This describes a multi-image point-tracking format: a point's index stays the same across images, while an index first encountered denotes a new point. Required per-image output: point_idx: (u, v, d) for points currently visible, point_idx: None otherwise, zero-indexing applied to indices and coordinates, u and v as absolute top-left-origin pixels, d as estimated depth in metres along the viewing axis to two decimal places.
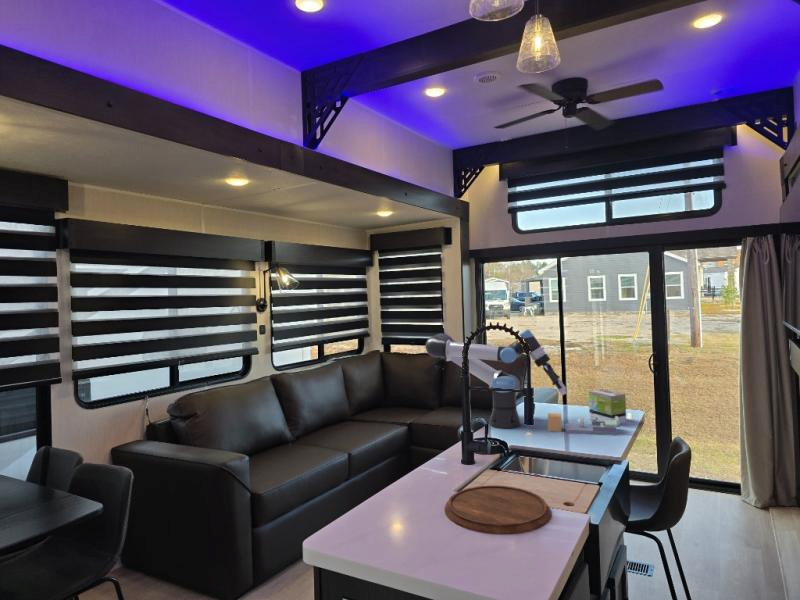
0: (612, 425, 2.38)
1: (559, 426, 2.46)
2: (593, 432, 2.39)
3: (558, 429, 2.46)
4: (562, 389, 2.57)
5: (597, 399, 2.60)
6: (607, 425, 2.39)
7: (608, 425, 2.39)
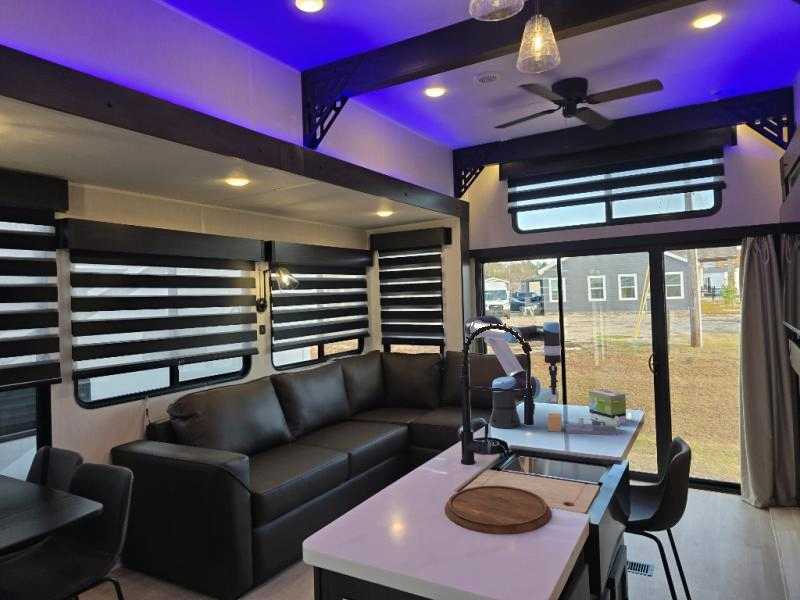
0: (612, 425, 2.38)
1: (559, 426, 2.46)
2: (593, 432, 2.39)
3: (558, 429, 2.46)
4: (555, 396, 2.42)
5: (597, 399, 2.60)
6: (607, 425, 2.39)
7: (608, 425, 2.39)
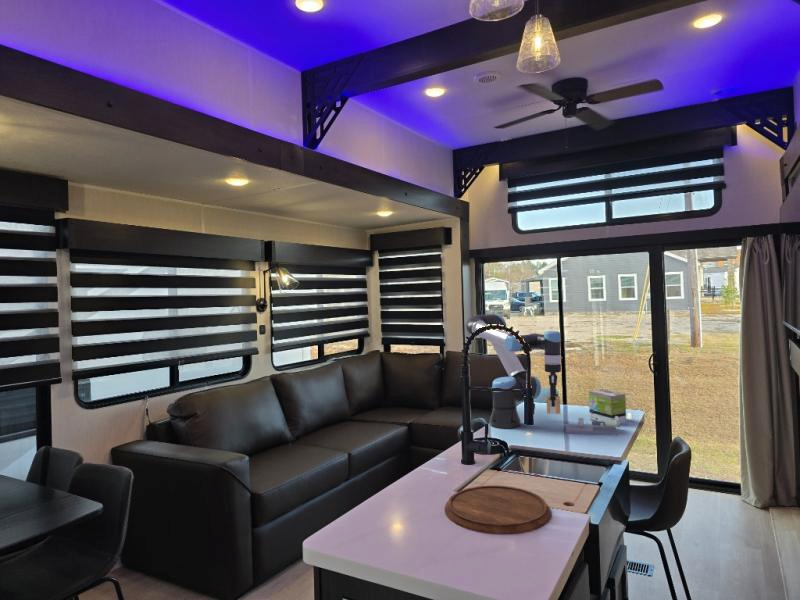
0: (612, 425, 2.38)
1: (558, 408, 2.46)
2: (593, 432, 2.39)
3: (557, 411, 2.46)
4: (554, 408, 2.46)
5: (597, 399, 2.60)
6: (607, 425, 2.39)
7: (608, 425, 2.39)
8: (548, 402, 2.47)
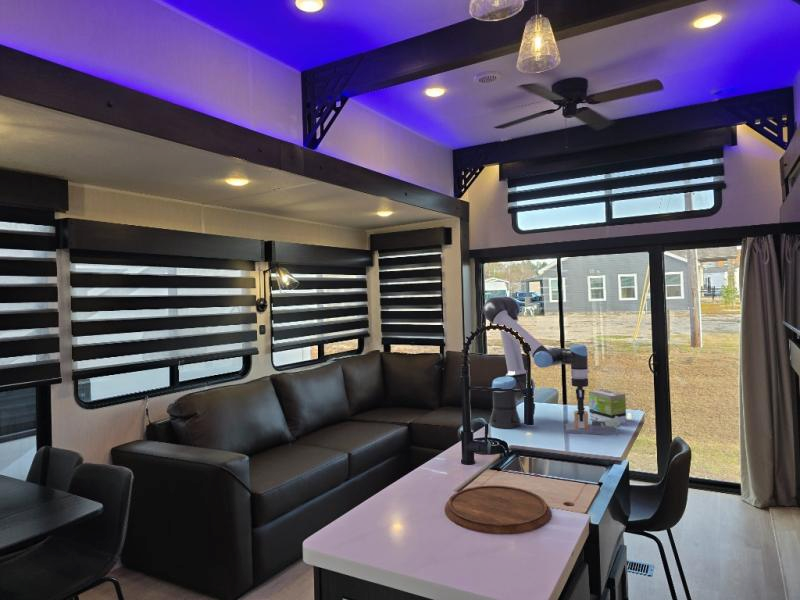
0: (612, 425, 2.38)
1: (586, 423, 2.43)
2: (593, 432, 2.39)
3: (585, 426, 2.43)
4: (582, 422, 2.42)
5: (597, 399, 2.60)
6: (607, 425, 2.39)
7: (608, 425, 2.39)
8: (576, 417, 2.44)
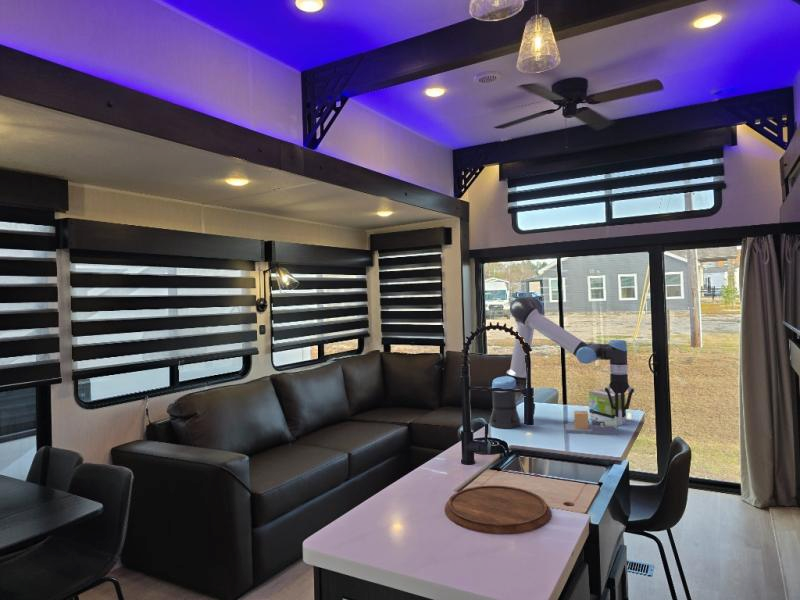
0: (612, 425, 2.38)
1: (586, 423, 2.43)
2: (593, 432, 2.39)
3: (585, 426, 2.43)
4: (618, 418, 2.41)
5: (597, 399, 2.60)
6: (607, 425, 2.39)
7: (608, 425, 2.39)
8: (576, 417, 2.44)
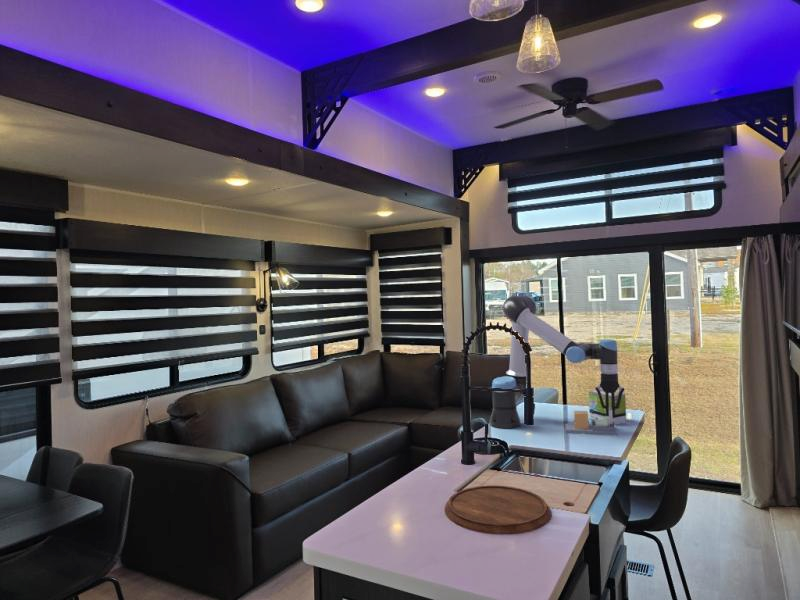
0: (602, 425, 2.40)
1: (586, 423, 2.43)
2: (593, 432, 2.39)
3: (585, 426, 2.43)
4: None
5: (597, 399, 2.60)
6: (597, 425, 2.40)
7: (598, 425, 2.40)
8: (576, 417, 2.44)
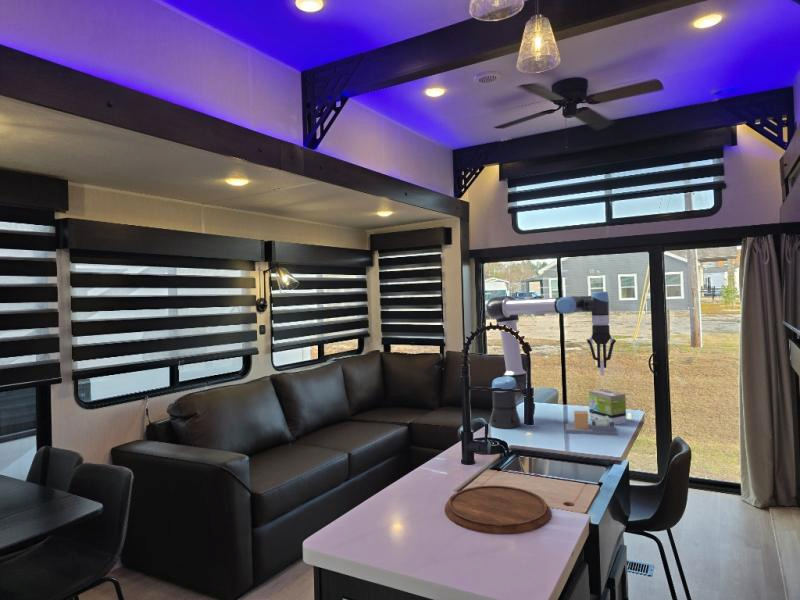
0: (602, 425, 2.40)
1: (586, 423, 2.43)
2: (593, 432, 2.39)
3: (585, 426, 2.43)
4: (600, 369, 2.43)
5: (597, 399, 2.60)
6: (597, 425, 2.40)
7: (598, 425, 2.40)
8: (576, 417, 2.44)
